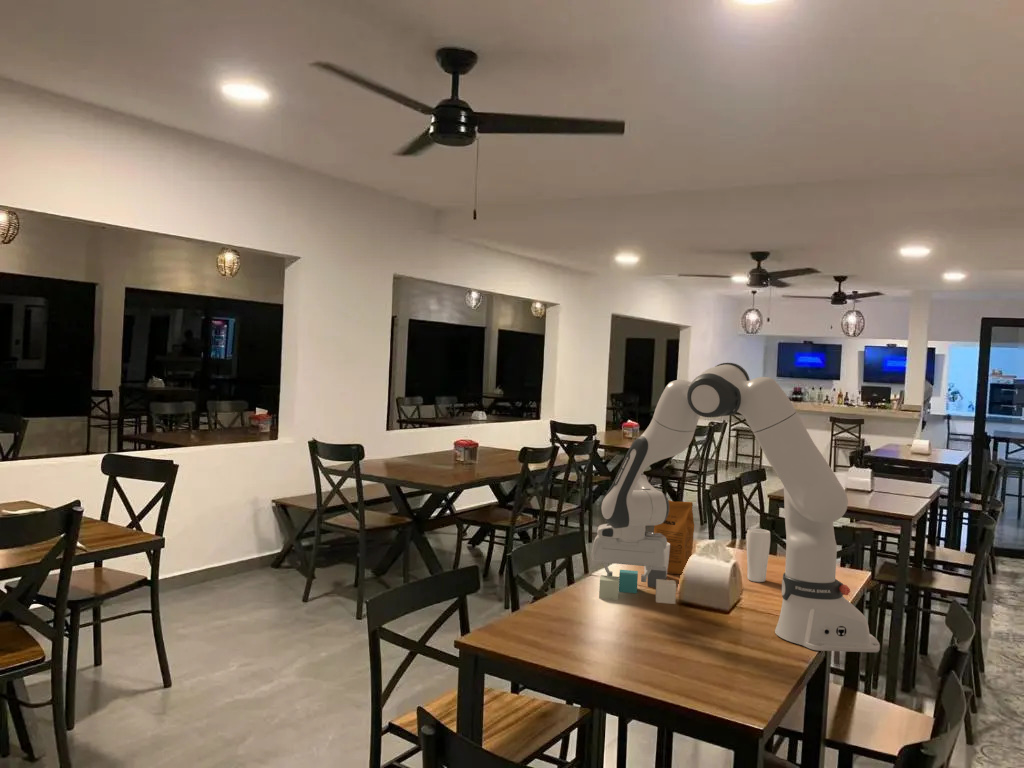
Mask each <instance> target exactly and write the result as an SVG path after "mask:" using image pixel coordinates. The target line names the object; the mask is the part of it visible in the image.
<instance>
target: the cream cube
mask: <svg viewBox="0 0 1024 768" xmlns="http://www.w3.org/2000/svg"><path fill="white" fill-rule="evenodd" d="M676 593H677V583H676V580H673V579H671V580H670V579H666V580H662V579H656V587H655V603H660V604H668V605H669V604H670V605H676V597H677V596H676V595H677V594H676Z"/></svg>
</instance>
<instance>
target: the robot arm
mask: <svg viewBox="0 0 1024 768" xmlns="http://www.w3.org/2000/svg"><path fill="white" fill-rule="evenodd" d="M737 413H739V414H740V415H741V416H742V417H744V419H745V420H746V422H747V424H748V426H749V428H750V429H751V431H752V433H753V435H754V438H755V439H756V441H757V443H758V444H759V447H760V448H761V450H762V453H763V454H764V455H765V458H766V459H767V461H768V463H769V464H770V466H771V467H772V469H773V470H774V472H775V473H776V475H777V477H778V479H779V481H780V482H781V483H782V485H783V496H784V497H783V499H784V500H783V502H784V504H783V506H784V523H785V525H784V526H785V535H786V536H785V537H786V538H785V540H786V548H785V570H784V572H783V574H782V580H781V596H782V603H781V608H780V614H779V617H778V622H777V623H776V627H775V630H774V632H775V634H776V636H778V637H780V638H781V639H783V640H785V641H787V642H790V643H792V644H793V643H794V644H797V645H801V646H803V647H806V648H807V649H810V650H812V651H818V652H819V651H821V652H822V651H823V652H825V651H826V652H848V653H849V652H853V653H855V652H857V653H879V651H880V650H881V649H880V648H881V645H880V642H879V640H878V639H877V638H876V637H875V636H873V634H871V633H870V628H869V627H870V626H869V624H868V621H867V618H866V616H865V615H864V614H863V613H862V612H861V611H860V610H859V609H858V608H857V607H856V606H855V605H854V604H852V603H851V602H850V601H849V600H848V599H847V598H845V597H844V596H849V594H850V593H851V588H850V587H849V586H848V585H847V584H843V582H841V581H839V580H838V579H836V576H837V575H836V574H837V572H836V570H837V554H838V553H837V552H838V545H837V541H836V536H835V529H834V523H835V522H837V521H838V520H840V519H841V518H842V517H843V516H844V515H845V513H846V512H847V510H848V507H849V498H848V495H847V492H846V490H845V489H844V488H843V486H842V484H841V483H840V481H839V479H838V478H837V476H836V474H835V472H834V471H833V469H832V467H830V465H829V463H828V462H827V460H826V458H825V457H824V456H823V454H822V453H821V452H820V450H819V449H818V447H817V446H816V444H815V442H814V440H813V439H812V437H811V435H810V434H809V432H808V431H807V428H806V426H805V424H804V423H803V420H802V419H801V417H800V415H799V413H798V411H797V409H796V408H795V406H794V404H793V403H792V401H791V400H790V399H789V397H788V395H787V394H786V393H785V391H784V389H782V387H781V386H780V385H779V384H778V383H777V381H776V380H775V379H773V378H772V377H768V376H759V377H755V378H752V379H750V376H749V374H748V372H747V371H746V369H744V368H743V366H741V365H739V364H737V363H733V362H723V363H719V364H717V365H715V366H713V367H710V368H708V369H705V370H704V371H703V372H702V373H701V374H700V375H698V376H696V377H695V378H694V379H693V380H692V381H689V380H685V379H676V380H672V381H670V382H668V384H667V385H666V386H665V388H664V389H663V392H662V393H661V395H660V397H659V400H658V402H657V404H656V407H655V409H654V413H653V415H652V418H651V420H650V423H649V425H648V426H647V428H646V429H645V430H644V432H643V433H642V434H640V435H639V436H637V438H636V439H635V440H633V442H632V443H631V445H630V447H629V449H628V450H627V452H626V454H625V457H624V459H623V461H622V462H621V465H620V468H619V469H618V472H617V473H616V475H615V478H614V479H613V482H612V484H611V486H610V487H609V489H608V490H607V491H606V493H605V494H604V497H603V498H602V500H601V504H600V512H601V513H600V514H601V517H602V518H603V519H604V522H606V523H603V524H600V525H598V527H597V533H596V534H597V535H596V536H595V538H594V541H593V543H592V549H591V555H590V557H591V560H592V561H593V562H595V563H603V568H604V570H605V572H606V576H613V571H611V570H610V569H609V565H610V564H615V565H616V564H617V565H627V566H628V565H629V566H638V567H644V566H646V570H647V571H646V572H645V574H644V573H643V574H641V576H640V582H641V583H647V579H648V577H647V576H648V574H649V573H650V572H651V567H659V568H661V567H663V566H664V564H665V557H664V549H665V548H666V546H667V539H666V537H665V536H664V535H662V534H661V533H654V532H651V531H650V532H649V531H646V526H651V527H652V526H655V525H659V524H662V523H664V521H665V520H666V519H667V517H668V514H669V501H668V500H669V499H668V497H667V495H666V494H665V493H663V491H661V490H658V489H656V487H654V486H652V485H651V483H650V482H649V480H648V477H647V475H646V474H643V472H644V471H645V470H646V469H647V468H648V467H649V466H651V465H653V464H655V463H658V462H660V461H662V460H665V459H668V458H672V457H675V456H677V455H680V454H682V453H684V452H685V450H687V448H688V447H689V445H690V444H691V442H692V440H693V438H694V435H695V432H696V430H697V425H698V423H699V419H700V417H703V418H718V417H728V416H734V415H736V414H737Z"/></svg>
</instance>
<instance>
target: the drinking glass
mask: <svg viewBox="0 0 1024 768" xmlns="http://www.w3.org/2000/svg"><path fill="white" fill-rule="evenodd" d="M770 548H771V531H770V530H767V529H763V528H748V529H747V530H746V560H747V561H746V564H747V565H746V566H747V568H746V569H747V573H746V575H747V576H746V577H747V579H748V581H750V582H754V583H764V582H765V581H766V580H767V571H768V570H767V568H768V562H769V555H770V550H771V549H770Z"/></svg>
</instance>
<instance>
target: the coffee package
mask: <svg viewBox="0 0 1024 768" xmlns="http://www.w3.org/2000/svg"><path fill="white" fill-rule="evenodd" d="M668 501H669V514H668V517H667V519H666V520H665V521H664V523H662V524H659V525H653V527H654V528H653V533H661V534H662V535H664V536H665V537H666V539H667V542H668V543H670V554H669V564H668V569H667V574H670V575H671V574H672V575H681V576H683V575H682V573H683V572H682V571H683V569H684V567H685V565H686V563H687V561H688V559H689V557H690V556H691V555H692V556H693V548H694V547H693V545H694V532H695V521H694V512H693V506H694V504H693V501H673V500H670V499H668Z"/></svg>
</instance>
